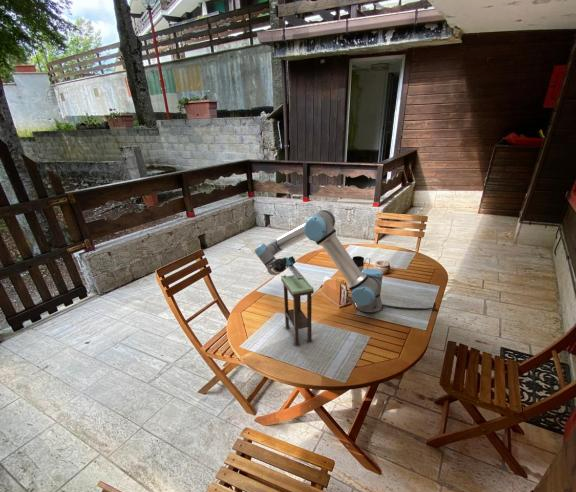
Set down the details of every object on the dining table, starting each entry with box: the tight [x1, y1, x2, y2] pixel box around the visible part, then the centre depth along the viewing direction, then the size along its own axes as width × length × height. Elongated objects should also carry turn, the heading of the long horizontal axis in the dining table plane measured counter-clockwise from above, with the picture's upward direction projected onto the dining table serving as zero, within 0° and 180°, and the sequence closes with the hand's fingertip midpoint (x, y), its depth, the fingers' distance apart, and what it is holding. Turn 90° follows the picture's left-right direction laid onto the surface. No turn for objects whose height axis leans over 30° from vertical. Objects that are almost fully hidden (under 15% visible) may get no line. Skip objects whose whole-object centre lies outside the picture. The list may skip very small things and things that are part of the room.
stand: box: [280, 278, 315, 346], centre depth 156 cm, size 18×10×30 cm, turn 18°
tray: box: [280, 272, 314, 294], centre depth 148 cm, size 18×10×1 cm, turn 18°
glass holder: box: [352, 255, 371, 272], centre depth 214 cm, size 9×14×15 cm, turn 113°
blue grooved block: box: [281, 257, 304, 280], centre depth 151 cm, size 24×3×1 cm, turn 18°
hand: (289, 259), depth 153 cm, fingers closed on blue grooved block, 3 cm apart
